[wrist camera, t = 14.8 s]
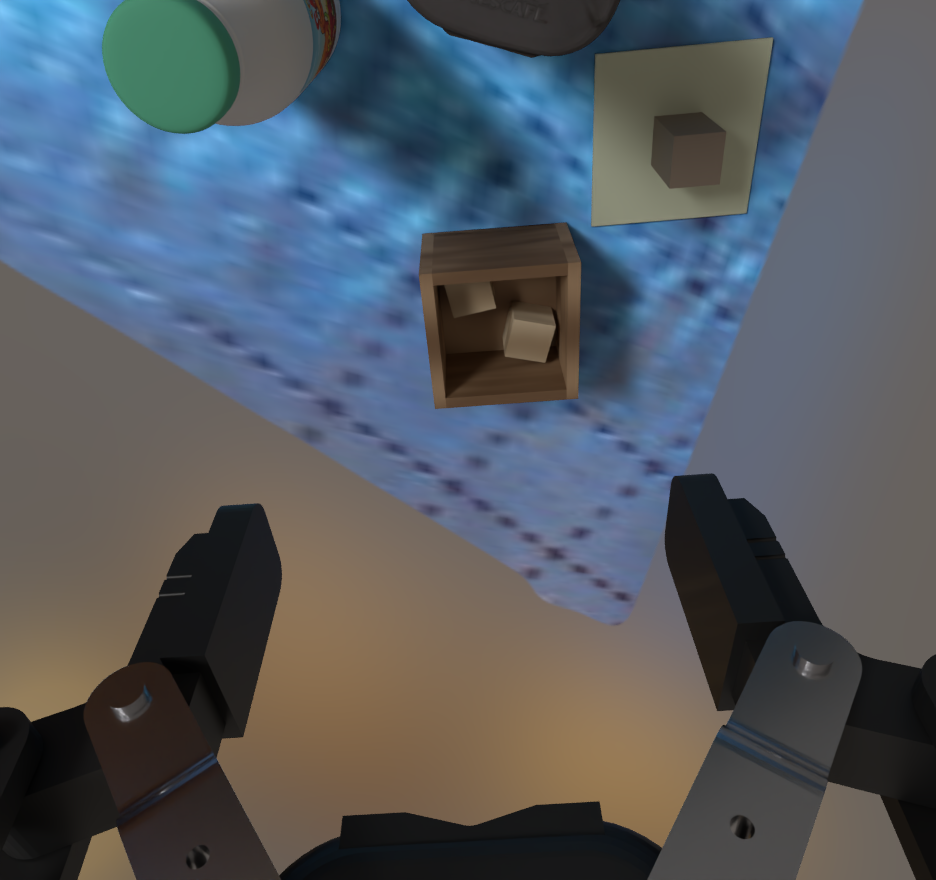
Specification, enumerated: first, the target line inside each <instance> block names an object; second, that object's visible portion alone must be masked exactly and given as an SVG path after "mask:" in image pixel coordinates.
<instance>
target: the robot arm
mask: <svg viewBox="0 0 936 880" xmlns="http://www.w3.org/2000/svg"><path fill="white" fill-rule="evenodd" d="M665 550H666V557H667V562H668V565H669V568H670V571H671V574H672V577H673V580H674V583H675V586H676V589H677V592H678V595H679V598H680V601H681V604H682V607H683V610H684V613H685V616H686V619H687V622H688V625H689V628H690V631H691V634H692V637H693V640H694V643H695V646H696V649H697V652H698V655H699V658H700V661H701V664H702V667H703V670H704V673H705V676H706V679H707V682H708V684H709V688H710V691H711V694H712V697H713V700H714V703H715V706H716V709H717V711H725V710H733V712H732V715H731V717H730V719H729V721H728V723H727V724H726V726H725V725H723V726H722V727H721V728H720V730H719V732H718V733H717V735H716V737H715V739H714V741H713V743H712V745H711V748H710V750H709V752H708V754H707V756H706V758H705V760H704V762H703V764H702V767H701V769H700V771H699V773H698V775H697V777H696V779H695V781H694V783H693V785H692V787H691V790H690V791H689V794H688V796H687V798H686V800H685V802H684V804H683V806H682V808H681V810H680V813H679V815H678V817H677V819H676V821H675V823H674V825H673V827H672V829H671V831H670V833H669V835H668V837H667V839H666V842H665V844H664V846H663V848H661V847H660V846H659V845H657V844H656V843H654V842H652V841H651V840H649V839H648V838H646V837H645V836H642V835H641V834H639V833H637V832H635V831H633V830H630V829H628V828H625V827H622V826H620V825H617V824H614V823H609V822H605V821H603V820H602V815H601V808H600V803H599V802H582V803H565V804H548V805H535V806H532V807H529V808H526V809H523V810H520V811H517V812H514V813H511V814H508V815H505V816H502V817H499V818H496V819H493V820H490V821H487V822H484V823H481V824H478V825H474V826H466V825H465V826H464V825H460V824H456V823H451V822H446V821H442V820H438V819H433V818H428V817H424V816H419V815H415V814H410V813H386V814H370V815H352V816H343V818H342V826H341V835H340V837H337V838H334V839H331V840H329V841H327V842H325V843H323V844H321V845H319V846H317V847H315V848H313V849H312V850H310V851H309V852H307V853H306V854H304V855H303V856H301V857H300V858H299V859H297V860H296V861H295V862H294V863H292V864H291V865H290V866H289V867H287V868H286V869H285V871H283V872H282V873H281V874H280V875H279V874H278V873H277V871H276V869H275V867H274V865H273V863H272V861H271V860H270V858H269V856H268V854H267V852H266V850H265V848H264V847H263V845H262V843H261V841H260V839H259V837H258V835H257V833H256V831H255V830H254V828H253V826H252V824H251V822H250V820H249V818H248V816H247V815H246V813H245V811H244V809H243V807H242V805H241V803H240V801H239V800H238V798H237V796H236V794H235V792H234V791H233V788H232V787H231V785H230V783H229V781H228V779H227V777H226V775H225V773H224V772H223V770H222V768H221V766H220V764H219V762H218V760H217V754H218V751H219V747H220V743H221V740H222V738H238V737H243V735H244V731H245V727H246V724H247V720H248V716H249V712H250V708H251V704H252V700H253V696H254V692H255V688H256V684H257V680H258V676H259V672H260V668H261V664H262V660H263V656H264V652H265V648H266V644H267V640H268V636H269V633H270V629H271V624H272V621H273V617H274V612H275V608H276V605H277V601H278V597H279V593H280V589H281V580H282V570H281V561H280V557H279V554H278V551H277V547H276V544H275V541H274V538H273V536H272V532H271V529H270V526H269V523H268V520H267V517H266V514H265V511H264V509H263V507H262V506H261V504H243V505H228V506H221V507H220V508H219V509H218V510H217V513H216V515H215V517H214V520H213V523H212V525H211V528H210V530H209V533H202V534H194V535H193V536H192V537H191V538H190V539H189V541H188V542H187V543H186V544H185V545H184V546H183V547H182V548H181V549H180V550H179V551H178V552H177V553H176V555H175V557H174V559H173V562H172V564H171V566H170V569H169V571H168V573H167V580H164V583H163V585H162V587H161V590H160V592H159V598H157V599H156V602H155V604H154V606H153V608H152V610H151V613H150V615H149V617H148V620H147V622H146V624H145V627H144V629H143V631H142V634H141V636H140V638H139V641H138V643H137V645H136V648H135V650H134V652H133V655H132V657H131V659H130V662H129V663H128V665H127V666H126V667H123V668H121V669H119V670H117V671H116V672H114V673H112V674H111V675H109V676H108V677H107V678H106V679H104V680H103V681H102V682H101V683H100V684H99V685H98V686H97V687H96V688H95V689H94V691H93V692H92V693H91V695H90V697H89V698H88V700H87V702H86V703H84V704H82V705H79V706H77V707H74V708H71V709H68V710H65V711H62V712H59V713H56V714H53V715H50V716H47V717H44V718H41V719H38V720H36V721H33V722H30V720H29V719H28V718H27V717H26V715H25V714H24V713H23V712H22V711H20V710H18V709H15V708H10V707H0V880H77V879H78V876H79V873H80V870H81V867H82V864H83V861H84V858H85V855H86V852H87V849H88V846H89V843H90V840H91V837H92V836H94V835H97V834H99V833H102V832H104V831H107V830H110V829H112V828H115V827H117V828H118V832H119V834H120V837H121V840H122V842H123V845H124V848H125V850H126V853H127V856H128V859H129V861H130V864H131V867H132V869H133V872H134V875H135V877H136V880H796V877H797V874H798V870H799V868H800V864H801V862H802V859H803V856H804V853H805V850H806V847H807V843H808V841H809V837H810V835H811V832H812V829H813V826H814V823H815V820H816V817H817V814H818V811H819V808H820V805H821V802H822V799H823V796H824V793H825V790H826V786H827V783H828V782H832V783H836V784H840V785H844V786H848V787H851V788H855V789H859V790H864V791H867V792H871V793H875V794H879V795H880V796H881V798H882V800H883V803H884V805H885V807H886V810H887V812H888V815H889V817H890V820H891V821H892V824H893V827H894V829H895V831H896V834H897V836H898V838H899V840H900V843H901V845H902V848H903V850H904V853H905V855H906V857H907V859H908V862H909V864H910V867H911V869H912V871H913V874H914V876H915V878H916V880H936V655H934V656H932V657H930V658H929V659H928V660H927V661H926V662H925V664H924V665H923V667H922V669H920V668H915V667H911V666H906V665H901V664H896V663H891V662H887V661H882V660H877V659H873V658H870V657H867V656H864V655H861V654H859V653H857V652H856V650H855V649H854V647H853V646H852V645H851V644H850V643H849V642H848V641H847V640H846V639H845V638H844V637H842V636H841V635H840V634H838V633H837V632H835V631H833V630H831V629H829V628H827V627H825V626H823V625H822V623H821V622H820V620H819V618H818V616H817V614H816V612H815V610H814V608H813V607H812V605H811V603H810V601H809V599H808V597H807V595H806V593H805V591H804V589H803V587H802V586H801V584H800V582H799V580H798V578H797V576H796V574H795V572H794V570H793V568H792V567H791V565H790V563H789V561H788V559H786V558H785V553H784V551H783V549H782V548H781V545H780V543H779V542H778V541H776V536H775V534H774V532H773V530H772V528H771V527H770V525H769V522H768V521H767V519H766V517H765V515H763V514H762V513H761V512H760V511H759V510H758V509H756V508H755V507H754V506H753V505H752V504H751V503H749V502H748V501H747V500H746V499H745V498H739V499H727V497H726V495H725V493H724V491H723V489H722V487H721V485H720V483H719V481H718V479H717V477H716V476H715V475H714V474H698V475H683V476H674V477H673V479H672V482H671V489H670V497H669V505H668V513H667V521H666V529H665Z"/></svg>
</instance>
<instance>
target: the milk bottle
mask: <svg viewBox="0 0 936 880" xmlns="http://www.w3.org/2000/svg"><path fill="white" fill-rule="evenodd" d="M340 28H341V8H340V1H339V0H125V1H123V2H122V3H121V4H120V5H119V6H118V7H117V8H116V9H115V10H114V12H113V13H112V14H111V16H110V18H109V20H108V22H107V25H106V27H105V31H104V35H103V41H102V54H103V62H104V66H105V70H106V73H107V76H108V78H109V81H110V83H111V85H112V87H113V89H114V90H115V92H116V94H117V95H118V97H119V98H120V99H121V101H122V102H123V103H124V104H125V105H126V107H127V108H128V109H129V110H130V111H131V112H133V113H134V114H135V115H136V116H137V117H139V118H140V119H141V120H143V121H144V122H146V123H147V124H149V125H151V126H153V127H155V128H158V129H160V130H163V131H167V132H172V133H182V134H187V133H195V132H199V131H202V130H204V129H207V128H209V127H210V126H212V125H214V124H215V123H216V124H220V125H227V126H242V125H250V124H255V123H258V122H261V121H264V120H266V119H269V118H271V117H273V116H275V115H277V114H278V113H280V112H281V111H283V110H284V109H285V108H286V107H287V106H289V105H290V104H291V103H292V102H293V101H294V100H295V99H296V98H297V97H298V96H299V95H300V94H301V93H302V92H303V91H304V90H305V89H306V88H307V86H308V85H309V84H310V83H311V82H312V81H313V79H314V78H315V77H316V76H317V75H318V74H319V72H320V71H321V70H322V69H323V68H324V66H325V65H326V64H327V62H328V61H329V59H330V57H331V56H332V54H333V52H334V50H335V47H336V45H337V42H338V39H339V34H340Z"/></svg>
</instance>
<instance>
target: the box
mask: <svg viewBox="0 0 936 880" xmlns="http://www.w3.org/2000/svg"><path fill="white" fill-rule="evenodd" d="M419 280H420V288H421V296H422V305H423V313H424V321H425V329H426V338H427V346H428V354H429V362H430V371H431V379H432V387H433V395H434V404H435V409H440V408H454V407H468V406H481V405H495V404H509V403H523V402H537V401H551V400H565V399H578V382H579V338H580V293H581V260H580V258H579V255H578V252H577V250H576V247H575V244H574V242H573V239H572V236H571V234H570V231H569V228H568V226H567V223H553V224H541V225H528V226H515V227H502V228H490V229H477V230H464V231H452V232H439V233H426V234H422V245H421V256H420V268H419ZM488 281H492V283H493V287H494V293H495V302H496V308H495V309H490V310H486V311H482V312H478V313H474V314H470V315H465V316H461V317H457V318H454V317H453V313H452V310H451V306H450V303H449V299H448V296H447V293H446V289H445V286H444V285H449V284H462V283H475V282H488ZM511 300H512V301H518V302H524V303H529V304H535V305H541V306H547V307H551V309H552V313H553V316H554V320H555V324H556V328H555V331H554V335H553V338H552V341H551V345H550V348H549V352H548V355H547V359H546V362H545V363H543V362H537V361H530V360H524V359H518V358H511V357H505V354H504V346H503V338H502V336H503V332H504V328H505V324H506V320H507V316H508V312H509V308H510V303H511Z"/></svg>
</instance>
